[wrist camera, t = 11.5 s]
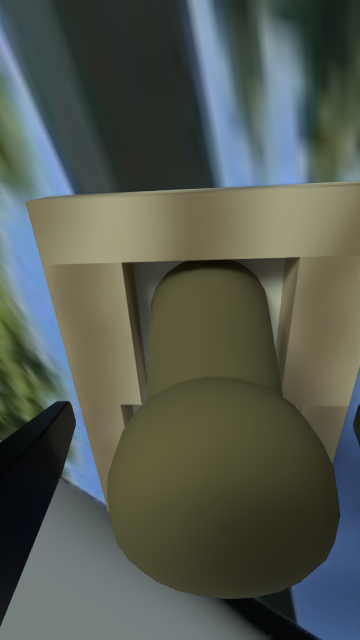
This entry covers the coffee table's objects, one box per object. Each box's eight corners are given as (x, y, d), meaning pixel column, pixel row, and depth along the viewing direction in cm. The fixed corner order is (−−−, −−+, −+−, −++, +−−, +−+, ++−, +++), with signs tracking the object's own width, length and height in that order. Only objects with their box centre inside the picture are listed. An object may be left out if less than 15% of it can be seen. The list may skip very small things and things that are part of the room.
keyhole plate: (374, 180, 12) (410, 183, 10) (305, 484, 22) (317, 518, 19) (52, 195, 14) (25, 201, 11) (116, 479, 23) (108, 511, 21)
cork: (227, 377, 17) (263, 656, 7) (132, 332, 16) (28, 585, 6) (293, 292, 15) (482, 549, 5) (184, 232, 14) (143, 402, 4)
